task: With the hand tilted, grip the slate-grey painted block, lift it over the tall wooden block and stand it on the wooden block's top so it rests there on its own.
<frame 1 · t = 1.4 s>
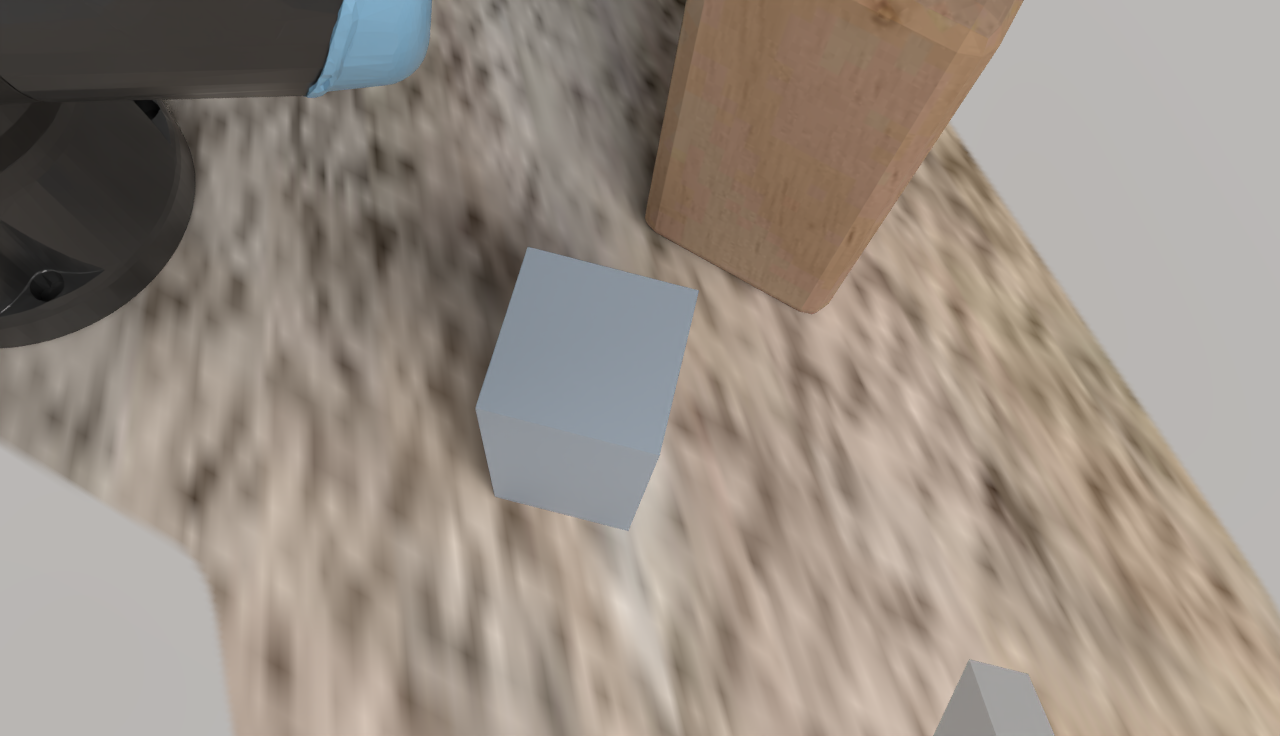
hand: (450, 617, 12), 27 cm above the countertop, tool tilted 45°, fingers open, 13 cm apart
wooden block: (767, 206, 47), on the countertop
slate block: (579, 449, 41), on the countertop
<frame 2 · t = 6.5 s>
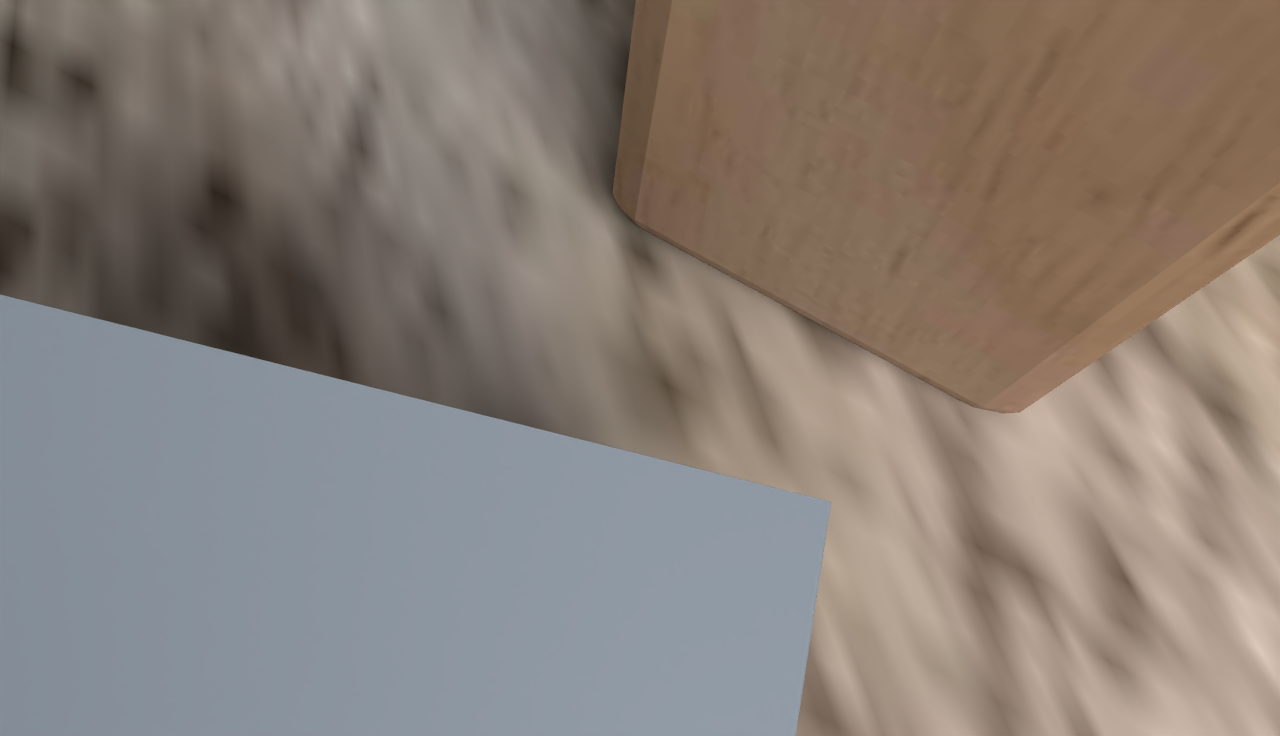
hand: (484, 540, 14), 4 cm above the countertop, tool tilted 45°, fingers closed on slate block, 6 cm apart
wooden block: (880, 169, 22), on the countertop
when the fingers open (25 cm above the countertop, at t = 11.5 s): slate block drops 1 cm, resting on wooden block.
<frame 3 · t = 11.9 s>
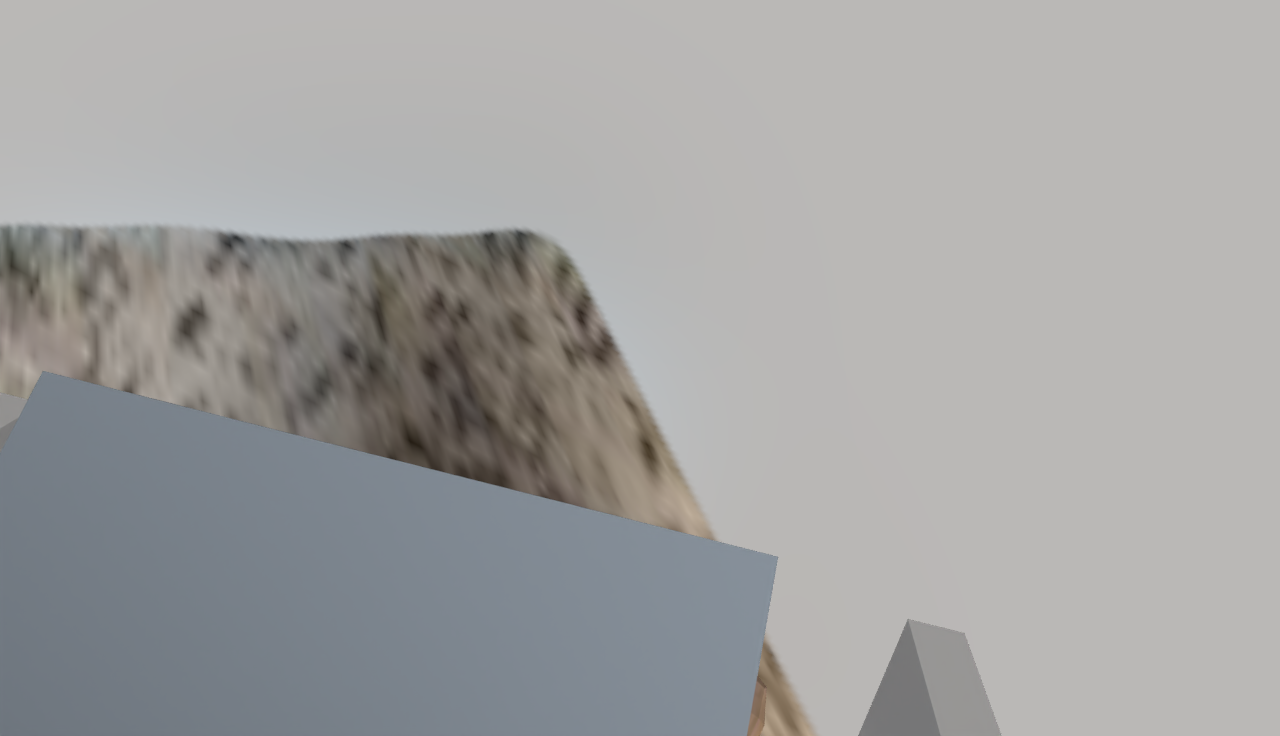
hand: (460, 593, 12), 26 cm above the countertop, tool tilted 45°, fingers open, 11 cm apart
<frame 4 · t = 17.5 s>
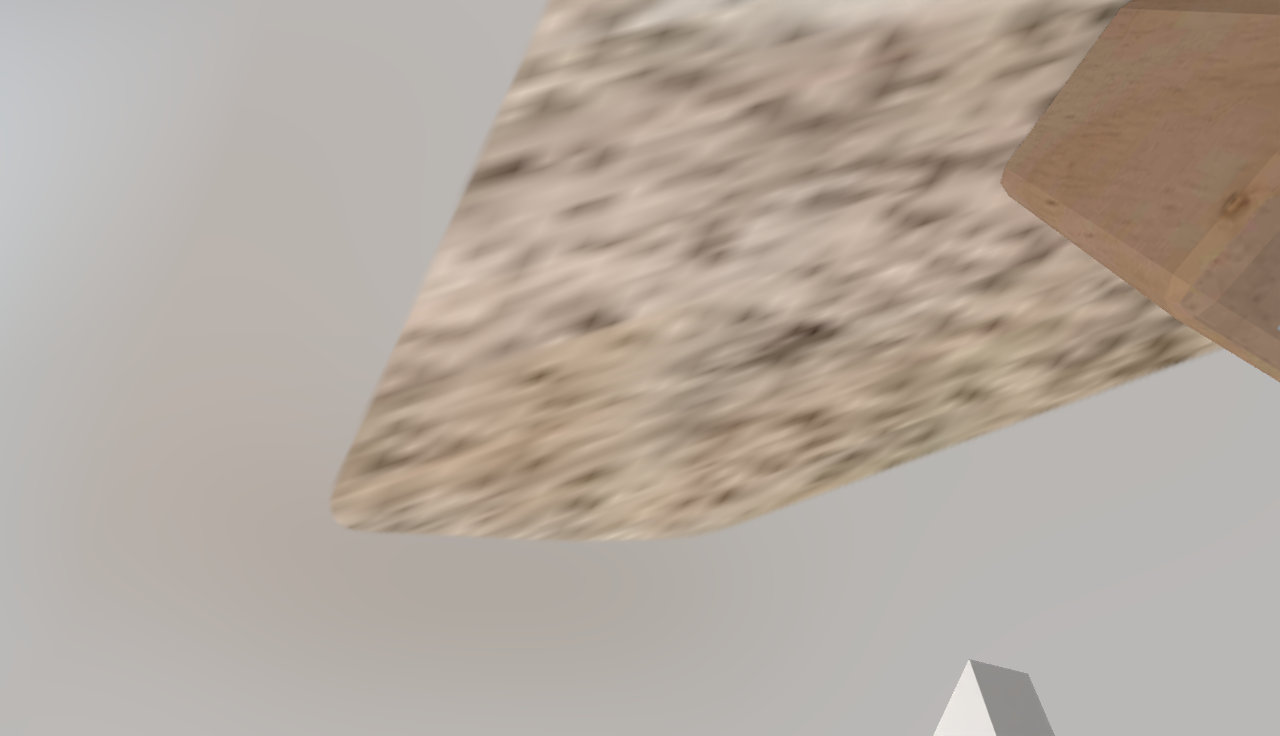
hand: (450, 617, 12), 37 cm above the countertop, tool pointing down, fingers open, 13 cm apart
wooden block: (1138, 142, 44), on the countertop, touching slate block
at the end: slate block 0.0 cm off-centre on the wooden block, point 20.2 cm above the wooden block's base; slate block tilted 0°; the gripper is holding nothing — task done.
